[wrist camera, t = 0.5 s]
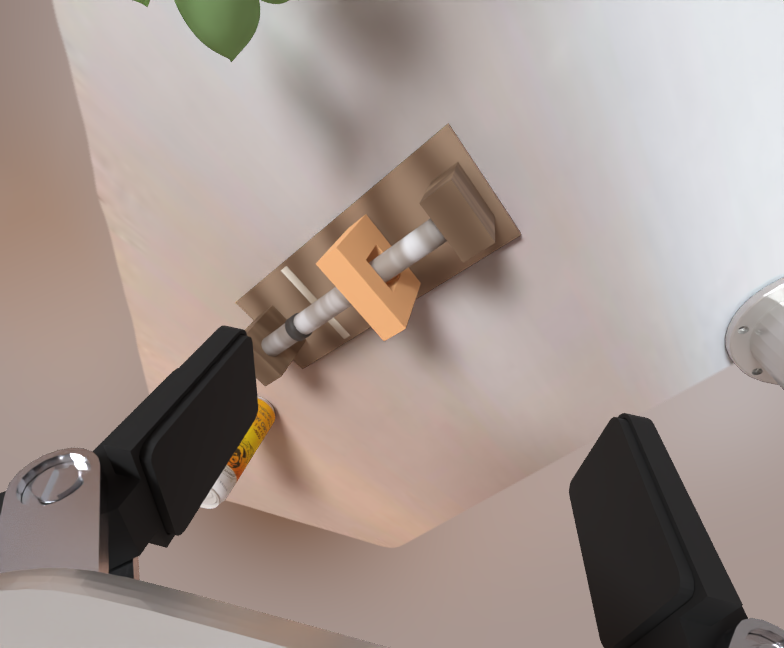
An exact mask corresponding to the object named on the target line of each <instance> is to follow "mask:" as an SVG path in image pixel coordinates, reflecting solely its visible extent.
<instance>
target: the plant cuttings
mask: <svg viewBox="0 0 784 648" xmlns="http://www.w3.org/2000/svg"><path fill="white" fill-rule="evenodd" d="M134 1H137V2H139V3H142V4H143V5H145V6H146V7H148V4H149V2H150V0H134ZM262 1H264V2H267V3H271V4H281V3H284V2H287V1H289V0H262ZM175 3H176V5H177V8H178V10H179V12H180V14H181V15H182V17H183V19H184V21H185V22H186V24H187V25H188V27H189V28H190V29H191V31H192V32H193V33H194V34H195V35H196V37H197V38H198V39H199V40H200V41H201V42H202V43H204V44H205V45H206V46H207V47H209V48H210V49H211V50H213V51H215V52H216V53H218V54H220V55H222V56H224V57H226V58H228V59H230V61H231V62H232V61H233V60H234V59H235V58H236V56H237V55H238V54H239V53H240V52H241V51H242V50H243V48H244V47H245V46H246V45H247V44H248V43H249V41H250V40H251V38H252V37H253V35H254V33H255V31H256V29H257V26H258V23H259V18H260V3H259V0H175Z"/></svg>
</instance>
